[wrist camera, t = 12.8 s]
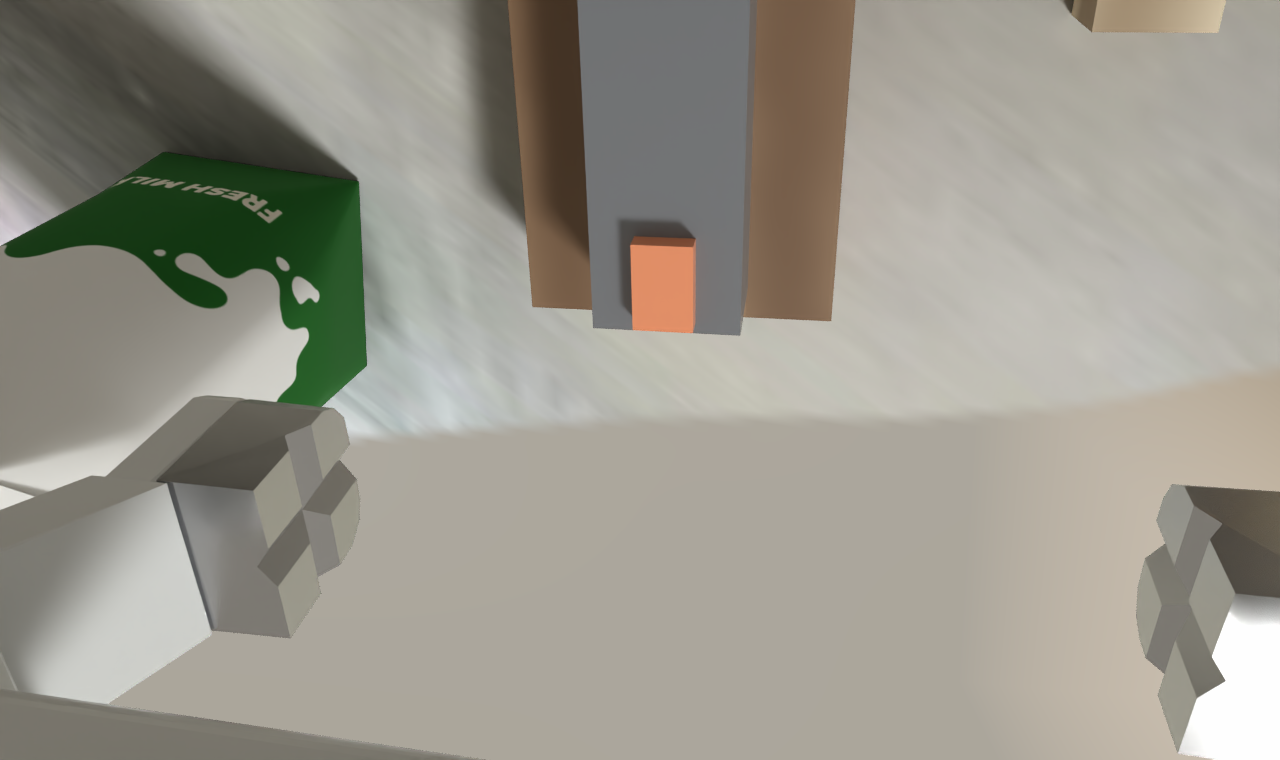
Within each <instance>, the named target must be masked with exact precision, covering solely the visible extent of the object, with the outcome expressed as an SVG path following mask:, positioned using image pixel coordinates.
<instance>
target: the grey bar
mask: <svg viewBox="0 0 1280 760" xmlns="http://www.w3.org/2000/svg"><path fill="white" fill-rule="evenodd" d="M577 4H578V25H579V45H580V66H581V87H582V107H583V128H584V149H585V170H586V190H587V211H588V232H589V252H590V273H591V294H592V315H593V328H605V329H624V330H643V331H662V332H681V333H700V334H720V335H739V336H740V333H741V327H742V321H743V315H744V309H745V303H746V297H747V290H748V263H749V232H750V202H751V172H752V141H753V111H754V81H755V51H756V20H757V0H577Z"/></svg>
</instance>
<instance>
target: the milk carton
mask: <svg viewBox="0 0 1280 760" xmlns="http://www.w3.org/2000/svg"><path fill="white" fill-rule="evenodd" d="M366 366H367V356H366V334H365V311H364V288H363V265H362V242H361V219H360V196H359V182H358V181H353V180H346V179H340V178H333V177H326V176H320V175H313V174H306V173H300V172H293V171H287V170H280V169H273V168H267V167H260V166H253V165H247V164H240V163H233V162H227V161H220V160H213V159H207V158H200V157H194V156H187V155H180V154H174V153H167V152H163V153H161V154H160V155H158V156H157V157H155V158H153V159H152V160H150V161H149V162H147V163H146V164H144V165H143V166H141V167H140V168H138V169H136V170H135V171H133V172H132V173H130V174H129V175H127V176H126V177H124V178H123V179H121V180H120V181H118V182H116V183H115V184H113V185H112V186H110V187H109V188H107V189H106V190H104V191H103V192H101V193H100V194H98V195H96V196H94V197H92V198H90V199H89V200H87V201H85V202H83V203H81V204H79V205H77V206H75V207H73V208H72V209H70V210H68V211H66V212H64V213H62V214H60V215H58V216H56V217H55V218H53V219H51V220H49V221H47V222H45V223H43V224H41V225H39V226H37V227H36V228H34V229H32V230H30V231H28V232H26V233H24V234H22V235H20V236H19V237H17V238H15V239H13V240H11V241H9V242H7V243H5V244H3V245H1V246H0V510H1V509H4V508H7V507H9V506H12V505H15V504H17V503H20V502H23V501H25V500H28V499H30V498H33V497H36V496H38V495H41V494H44V493H46V492H49V491H52V490H54V489H57V488H60V487H62V486H65V485H67V484H70V483H73V482H75V481H78V480H81V479H83V478H86V477H89V476H91V475H93V476H104V477H105V476H107V475H108V474H109V473H110V472H111V471H112V470H113V469H114V468H116V467H117V466H118V465H119V464H120V463H121V462H122V461H123V460H124V459H126V458H127V457H128V456H129V455H130V454H131V453H132V452H133V451H134V450H136V449H137V448H138V447H139V446H140V445H141V444H142V443H143V442H144V441H146V440H147V439H148V438H149V437H150V436H151V435H152V434H153V433H154V432H156V431H157V430H158V429H159V428H160V427H161V426H162V425H163V424H165V423H166V422H167V421H168V420H169V419H170V418H171V417H172V416H173V415H175V414H176V413H177V412H178V411H179V410H180V409H181V408H182V407H183V406H185V405H186V404H187V403H188V402H189V401H190V400H191V399H192V398H193V397H199V396H206V395H211V396H223V397H236V398H244V399H246V400H248V399H254V400H263V401H272V402H281V403H290V404H299V405H308V406H317V407H322V406H323V405H324V404H325V403H326V402H327V401H328V400H329V399H330V398H332V397H333V396H334V395H335V394H336V393H337V392H338V391H339V390H340V389H342V388H343V387H344V386H345V385H346V384H347V383H348V382H349V381H350V380H351V379H353V378H354V377H355V376H356V375H357V374H358V373H359V372H360V371H361V370H363V369H364V368H365V367H366Z"/></svg>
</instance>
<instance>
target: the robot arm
mask: <svg viewBox="0 0 1280 760" xmlns="http://www.w3.org/2000/svg"><path fill="white" fill-rule="evenodd" d="M349 445H350V442H349V437H348V433H347V429H346V424H345V420H344V417H343V416H342V415H341V414H340V413H338V412H337V411H336V410H335V409H334V408H326V407H317V406H308V405H299V404H290V403H281V402H272V401H263V400H254V399H248V400H246V399H244V398H236V397H223V396H211V395H206V396H199V397H193V398H192V399H191V400H190V401H189V402H188V403H187V404H186V405H185V406H183V407H182V408H181V409H180V410H179V411H178V412H177V413H176V414H175V415H173V416H172V417H171V418H170V419H169V420H168V421H167V422H166V423H165V424H163V425H162V426H161V427H160V428H159V429H158V430H157V431H156V432H154V433H153V434H152V435H151V436H150V437H149V438H148V439H147V440H146V441H144V442H143V443H142V444H141V445H140V446H139V447H138V448H137V449H136V450H134V451H133V452H132V453H131V454H130V455H129V456H128V457H127V458H126V459H124V460H123V461H122V462H121V463H120V464H119V465H118V466H117V467H116V468H114V469H113V470H112V471H111V472H110V473H109V474H108V475H107V476H105V477H104V476H93V475H91V476H89V477H86V478H83V479H81V480H78V481H75V482H73V483H70V484H67V485H65V486H62V487H60V488H57V489H54V490H52V491H49V492H46V493H44V494H41V495H38V496H36V497H33V498H30V499H28V500H25V501H23V502H20V503H17V504H15V505H12V506H9V507H7V508H4V509H1V510H0V760H485V759H478V758H471V757H464V756H456V755H450V754H443V753H437V752H429V751H423V750H415V749H409V748H402V747H395V746H389V745H382V744H375V743H368V742H362V741H354V740H347V739H341V738H334V737H327V736H321V735H314V734H307V733H300V732H293V731H287V730H280V729H273V728H266V727H259V726H252V725H246V724H238V723H232V722H225V721H218V720H211V719H204V718H198V717H191V716H184V715H177V714H170V713H164V712H157V711H150V710H143V709H136V708H130V707H123V706H116V705H109V704H108V703H110V702H111V701H113V700H114V699H116V698H117V697H119V696H120V695H122V694H123V693H125V692H126V691H127V690H129V689H130V688H132V687H134V686H135V685H137V684H138V683H140V682H141V681H143V680H144V679H146V678H147V677H149V676H150V675H152V674H153V673H155V672H156V671H158V670H159V669H161V668H162V667H164V666H165V665H167V664H168V663H170V662H171V661H173V660H174V659H176V658H177V657H179V656H180V655H182V654H183V653H185V652H186V651H188V650H190V649H191V648H193V647H194V646H196V645H197V644H199V643H200V642H202V641H203V640H204V639H206V638H208V637H209V636H211V635H212V631H211V630H213V631H223V632H233V633H243V634H254V635H263V636H273V637H283V638H291V637H292V636H293V634H294V633H295V631H296V629H297V628H298V627H299V625H300V624H301V622H302V621H303V619H304V618H305V616H306V615H307V613H308V612H309V610H310V609H311V607H312V606H313V605H314V603H315V602H316V600H317V599H318V597H319V596H320V594H321V591H320V586H319V582H318V576H320V575H322V574H324V573H326V572H327V571H329V570H331V569H333V568H335V567H337V566H339V565H340V564H341V563H342V561H343V560H344V558H345V556H346V555H347V553H348V552H349V550H350V549H351V547H352V544H353V541H354V538H355V534H356V531H357V527H358V523H359V520H360V496H359V490H358V484H357V479H356V478H355V477H354V476H353V475H352V474H351V472H350V471H349V470H348V469H347V468H346V467H345V466H344V465H343V464H342V462H341V461H340V459H341V457H342V456H343V454H344V453H345V451H346V450H347V448H348V447H349ZM1157 523H1158V525H1159V528H1160V531H1161V533H1162V536H1163V538H1164V541H1165V544H1164V545H1163V546H1161V547H1160V548H1159V549H1157V550H1156V551H1155V552H1154V553H1152V554H1151V555H1149V556H1148V557H1146V558H1145V561H1144V565H1143V569H1142V573H1141V577H1140V580H1139V584H1138V592H1137V593H1138V594H1137V610H1136V611H1137V612H1136V618H1137V625H1138V631H1139V638H1140V641H1141V645H1142V648H1143V651H1144V654H1145V658H1146V659H1148V660H1149V661H1150V662H1151V663H1152V664H1153V665H1155V666H1156V667H1157V668H1158V669H1159V670H1161V671H1162V672H1163V673H1164V678H1163V680H1162V684H1161V687H1160V690H1159V693H1158V697H1159V700H1160V703H1161V706H1162V709H1163V711H1164V715H1165V717H1166V720H1167V723H1168V726H1169V729H1170V732H1171V735H1172V738H1173V741H1174V744H1175V747H1176V750H1177V752H1178V754H1184V755H1190V756H1197V757H1203V758H1209V759H1216V760H1280V492H1275V491H1261V490H1247V489H1232V488H1218V487H1204V486H1190V485H1175V484H1172V485H1171V487H1170V488H1169V490H1168V492H1167V493H1166V495H1165V496H1164V498H1163V501H1162V504H1161V507H1160V511H1159V514H1158V517H1157Z"/></svg>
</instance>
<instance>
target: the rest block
mask: <svg viewBox="0 0 1280 760" xmlns="http://www.w3.org/2000/svg"><path fill="white" fill-rule="evenodd" d="M1225 3H1226V0H1074V3H1073V9H1072V16H1073V17H1075V18H1076V19H1077V20H1078V21H1079V22H1080V23H1082V24H1083V25H1084V26H1085V27H1086V28H1088V29H1089V30H1090V31H1091V32H1172V33H1218V31H1219V27H1220V23H1221V19H1222V15H1223V11H1224V7H1225Z"/></svg>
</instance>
